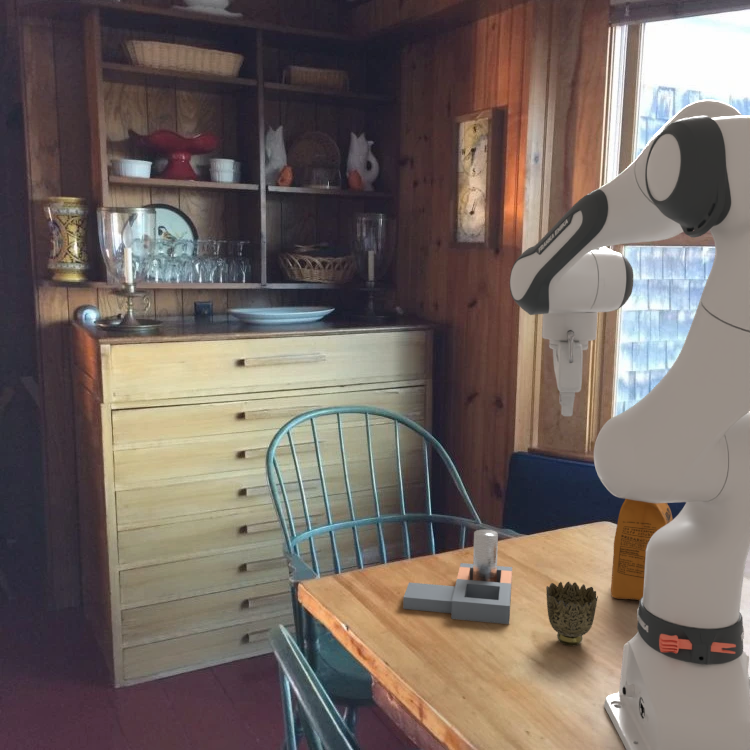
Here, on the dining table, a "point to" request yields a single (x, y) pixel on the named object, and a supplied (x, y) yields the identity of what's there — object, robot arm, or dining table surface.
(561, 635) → the cup
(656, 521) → the coffee package
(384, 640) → the dining table surface
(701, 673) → the robot arm
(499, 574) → the rack
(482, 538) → the peg
